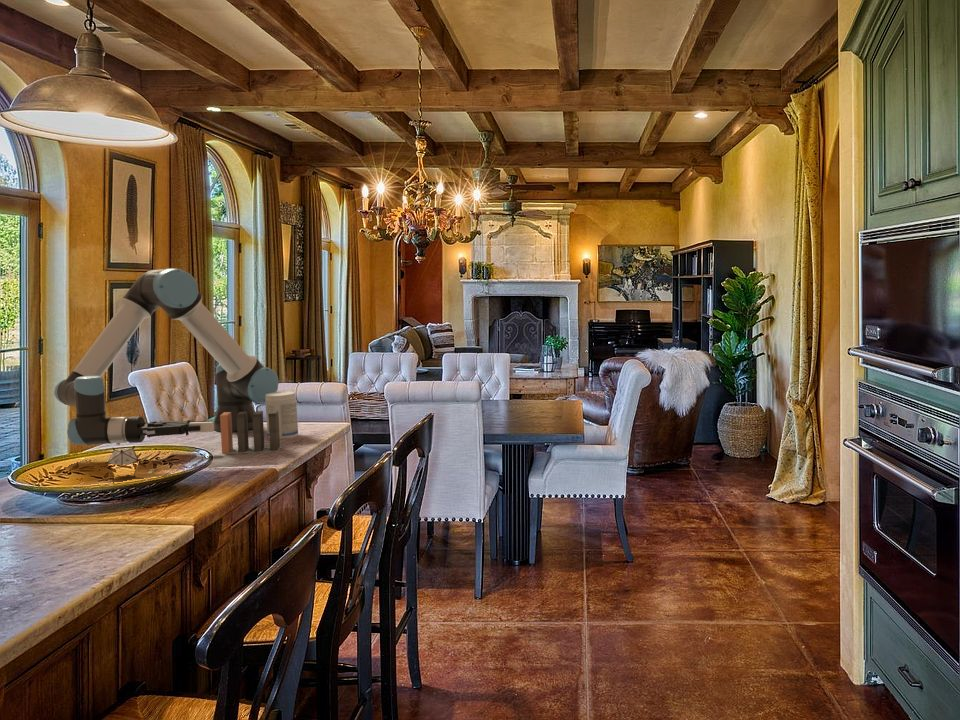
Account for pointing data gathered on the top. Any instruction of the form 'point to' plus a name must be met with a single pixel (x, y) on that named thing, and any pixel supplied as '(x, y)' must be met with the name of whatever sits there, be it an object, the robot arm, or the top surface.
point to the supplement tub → (283, 412)
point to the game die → (123, 456)
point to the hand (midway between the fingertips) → (212, 426)
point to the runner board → (251, 450)
